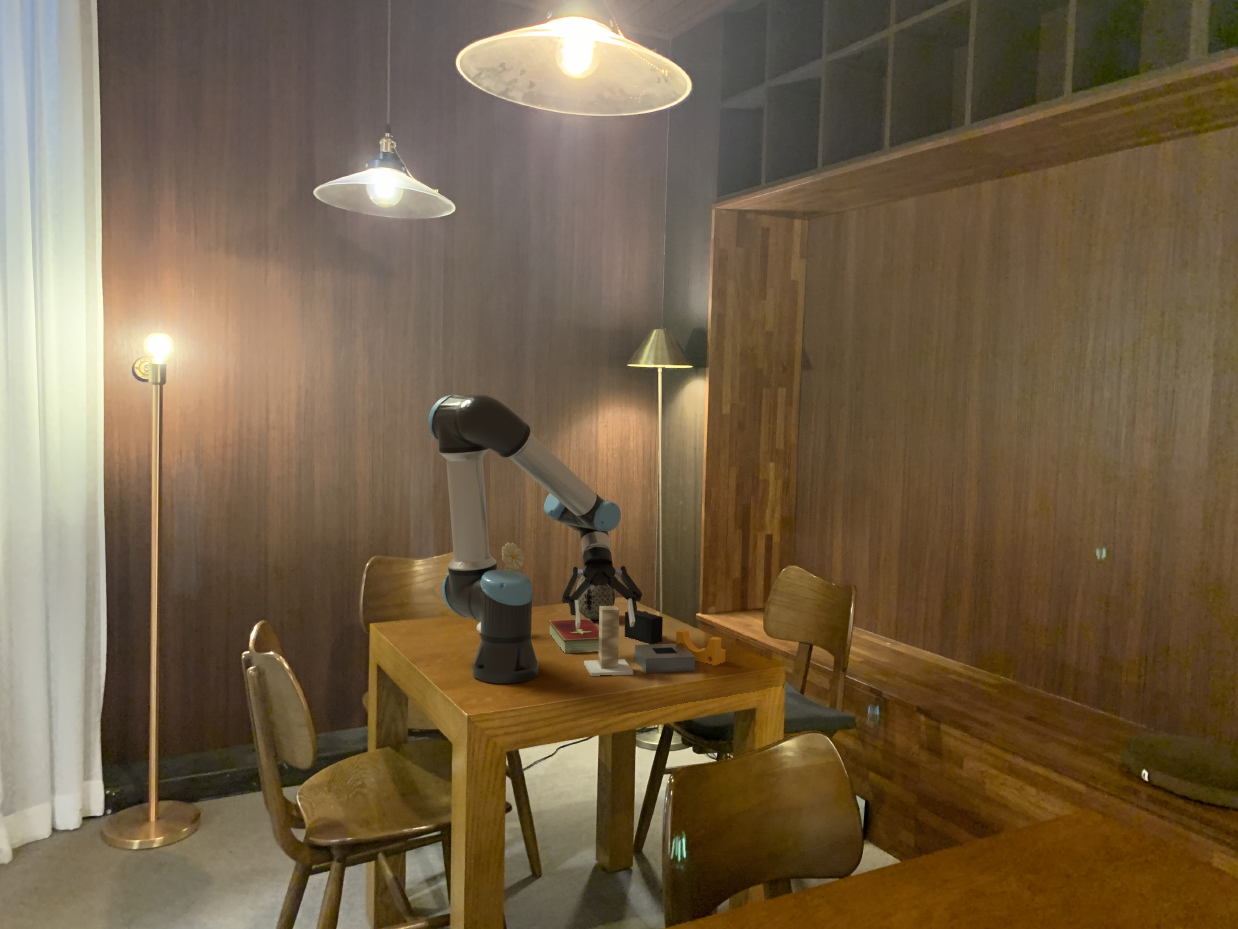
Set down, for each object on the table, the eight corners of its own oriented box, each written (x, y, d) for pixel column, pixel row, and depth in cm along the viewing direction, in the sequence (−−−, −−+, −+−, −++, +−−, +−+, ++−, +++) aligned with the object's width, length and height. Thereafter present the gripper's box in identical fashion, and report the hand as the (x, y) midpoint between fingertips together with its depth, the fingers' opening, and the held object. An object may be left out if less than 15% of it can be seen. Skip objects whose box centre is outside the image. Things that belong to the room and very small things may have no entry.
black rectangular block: (665, 641, 240) (666, 615, 239) (651, 645, 236) (652, 618, 235) (638, 633, 247) (639, 608, 247) (624, 637, 243) (625, 611, 243)
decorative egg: (619, 616, 266) (620, 566, 265) (607, 625, 255) (608, 573, 254) (582, 613, 269) (583, 564, 268) (568, 622, 258) (569, 570, 257)
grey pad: (590, 676, 207) (591, 673, 207) (584, 663, 217) (584, 660, 217) (633, 674, 209) (633, 671, 209) (624, 662, 219) (624, 659, 219)
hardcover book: (590, 632, 249) (590, 617, 249) (609, 653, 229) (609, 636, 229) (547, 634, 246) (548, 619, 246) (563, 655, 226) (563, 639, 225)
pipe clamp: (725, 662, 221) (725, 636, 221) (714, 666, 218) (715, 640, 218) (686, 652, 229) (686, 628, 229) (675, 656, 226) (676, 631, 226)
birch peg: (601, 668, 211) (602, 610, 210) (598, 663, 215) (599, 606, 214) (617, 668, 212) (619, 609, 211) (614, 663, 216) (615, 605, 215)
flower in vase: (486, 641, 236) (487, 547, 234) (469, 631, 245) (470, 541, 243) (531, 635, 242) (532, 544, 241) (513, 626, 252) (514, 538, 250)
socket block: (645, 673, 211) (646, 658, 211) (634, 658, 222) (635, 644, 222) (694, 671, 213) (695, 656, 213) (681, 657, 225) (681, 643, 225)
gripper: (641, 560, 239) (652, 631, 225) (547, 562, 234) (553, 634, 221) (645, 544, 233) (657, 615, 220) (550, 545, 228) (556, 618, 215)
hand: (605, 625), depth 220 cm, fingers open, 13 cm apart
